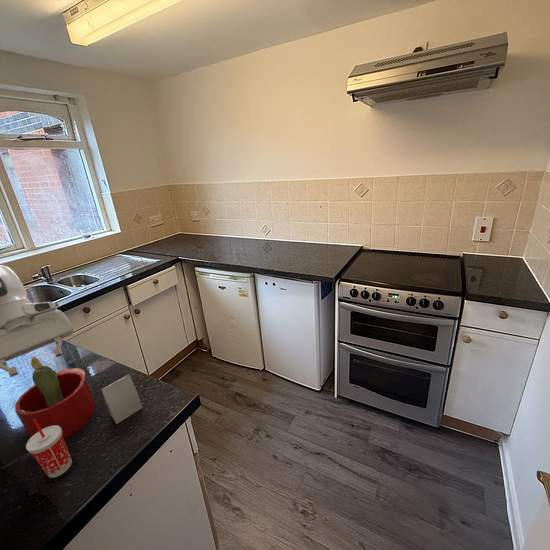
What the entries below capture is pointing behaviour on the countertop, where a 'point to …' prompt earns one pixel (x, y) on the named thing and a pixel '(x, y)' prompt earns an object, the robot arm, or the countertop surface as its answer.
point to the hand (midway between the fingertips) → (37, 365)
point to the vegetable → (46, 382)
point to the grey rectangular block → (122, 399)
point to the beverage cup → (50, 450)
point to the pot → (58, 406)
